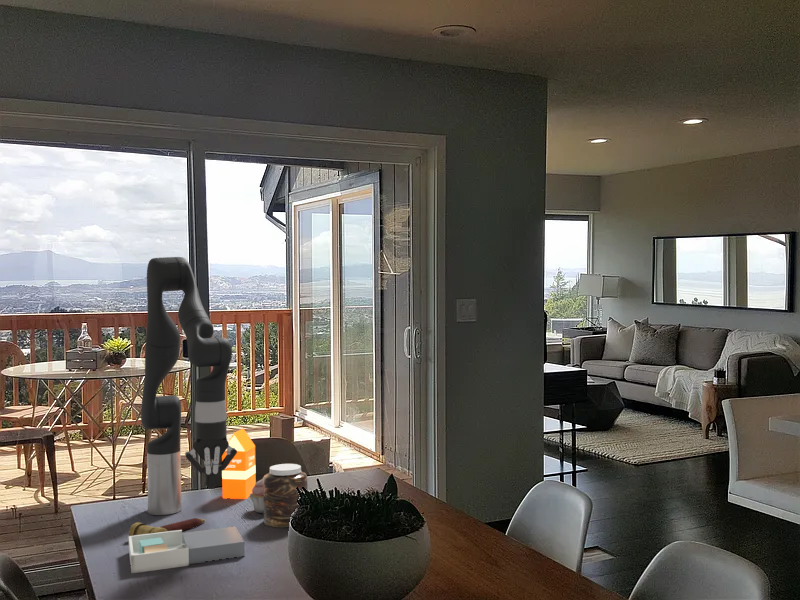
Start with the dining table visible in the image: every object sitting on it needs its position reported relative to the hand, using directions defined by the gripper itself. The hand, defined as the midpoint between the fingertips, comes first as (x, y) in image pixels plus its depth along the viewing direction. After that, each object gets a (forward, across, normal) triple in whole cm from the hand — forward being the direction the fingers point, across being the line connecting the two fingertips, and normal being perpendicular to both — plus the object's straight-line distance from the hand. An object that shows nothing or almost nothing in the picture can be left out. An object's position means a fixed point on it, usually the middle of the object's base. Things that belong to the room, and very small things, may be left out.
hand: (211, 488), depth 190 cm
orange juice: (+16, -14, -46) cm, 51 cm away
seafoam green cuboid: (+11, +14, +2) cm, 18 cm away
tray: (+14, +13, +4) cm, 20 cm away
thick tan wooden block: (+11, +14, +7) cm, 19 cm away
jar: (+15, -22, -13) cm, 29 cm away
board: (+14, 0, +4) cm, 15 cm away
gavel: (+16, +8, -15) cm, 23 cm away
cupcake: (+15, -18, -26) cm, 36 cm away
